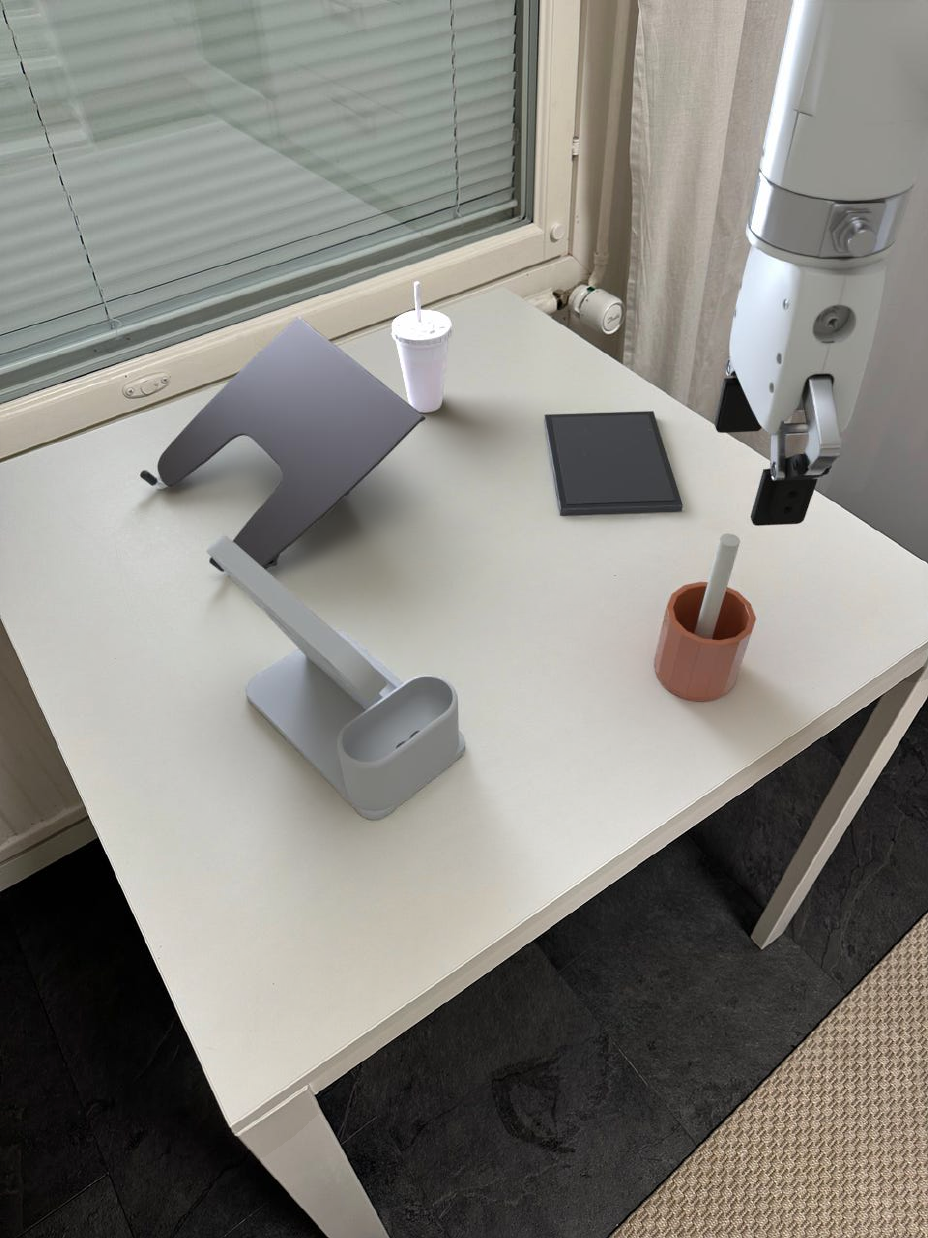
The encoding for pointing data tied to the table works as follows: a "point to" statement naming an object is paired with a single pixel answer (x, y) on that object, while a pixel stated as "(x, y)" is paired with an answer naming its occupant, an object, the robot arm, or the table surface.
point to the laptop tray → (295, 433)
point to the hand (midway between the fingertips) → (755, 473)
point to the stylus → (717, 585)
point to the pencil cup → (702, 644)
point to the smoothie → (423, 354)
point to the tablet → (610, 464)
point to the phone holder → (347, 701)
